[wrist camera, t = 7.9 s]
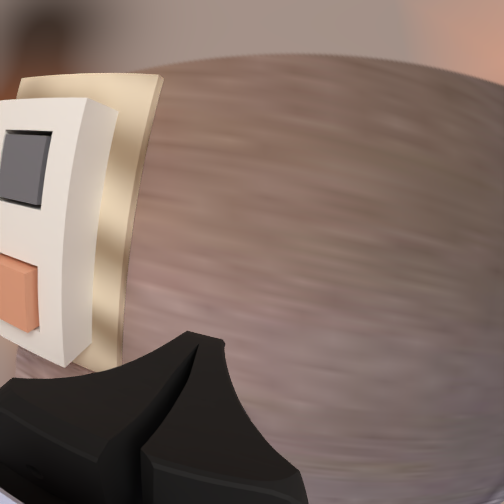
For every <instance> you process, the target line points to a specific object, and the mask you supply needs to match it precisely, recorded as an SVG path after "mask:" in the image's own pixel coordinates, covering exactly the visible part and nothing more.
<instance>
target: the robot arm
mask: <svg viewBox="0 0 504 504" xmlns="http://www.w3.org/2000/svg"><path fill="white" fill-rule="evenodd" d="M224 347H225V342H224V341H223V340H222V339H218V338H214V337H210V336H206V335H202V334H198V333H194V332H190V331H186V332H185V333H183V334H181V335H180V336H178V337H176V338H175V339H173V340H172V341H170V342H168V343H167V344H165V345H163V346H162V347H160V348H158V349H156V350H154V351H153V352H151V353H149V354H147V355H145V356H143V357H141V358H138V359H136V360H134V361H132V362H129V363H127V364H124V365H121V366H118V367H115V368H112V369H109V370H105V371H101V372H96V373H91V374H87V375H82V376H75V377H67V378H55V379H25V378H12V379H10V380H9V381H8V382H7V383H6V384H4V385H3V386H2V387H1V388H0V504H308V498H307V494H306V490H305V486H304V483H303V480H302V477H301V474H300V471H299V470H298V469H296V468H295V467H294V466H293V465H292V464H290V463H289V462H288V461H287V460H286V459H285V458H283V457H282V456H281V455H280V454H279V453H278V452H276V451H275V450H274V449H273V448H272V446H271V445H270V444H269V443H268V442H267V441H266V440H265V439H264V437H263V436H262V435H261V433H260V432H259V431H258V430H257V428H256V427H255V426H254V424H253V423H252V422H251V420H250V418H249V417H248V415H247V414H246V411H245V410H244V408H243V407H242V405H241V403H240V401H239V399H238V397H237V394H236V392H235V390H234V387H233V385H232V382H231V379H230V376H229V372H228V368H227V365H226V360H225V352H224Z"/></svg>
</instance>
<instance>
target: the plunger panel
mask: <svg viewBox="0 0 504 504" xmlns="http://www.w3.org/2000/svg"><path fill="white" fill-rule="evenodd" d="M118 113H119V111H117V110H115V109H112V108H110V107H108V106H106V105H103V104H101V103H99V102H96V101H94V100H92V99H89V98H77V97H68V98H31V99H16V100H2V101H0V166H1V159H2V153H3V147H4V141H5V136H6V134H18V135H39V136H41V135H52V137H51V142H50V148H49V153H48V159H47V165H46V171H45V178H44V186H43V194H42V203H41V204H40V205H34V204H30V203H26V202H21V201H17V200H12V199H8V198H4V197H0V254H1V253H3V254H5V255H8V256H11V257H13V258H16V259H19V260H21V261H24V262H27V263H30V264H32V265H35V266H38V308H39V326H38V327H36V328H35V329H33V330H32V331H30V332H29V333H27V332H25V331H23V330H21V329H19V328H17V327H15V326H13V325H11V324H9V323H7V322H5V321H3V320H1V319H0V335H1V336H3V337H4V338H6V339H8V340H10V341H12V342H13V343H15V344H17V345H19V346H21V347H23V348H25V349H27V350H29V351H31V352H32V353H34V354H36V355H38V356H41V357H43V358H45V359H47V360H49V361H51V362H53V363H55V364H57V365H60V366H62V367H64V368H65V367H66V366H67V365H68V364H70V363H71V362H72V361H73V360H74V359H75V358H76V357H77V356H78V355H79V354H80V353H81V352H82V351H84V350H85V349H86V348H87V347H88V346H89V345H90V344H91V343H92V299H93V278H94V263H95V251H96V240H97V231H98V222H99V214H100V207H101V200H102V193H103V187H104V180H105V175H106V169H107V163H108V158H109V153H110V148H111V143H112V139H113V134H114V130H115V125H116V121H117V117H118Z"/></svg>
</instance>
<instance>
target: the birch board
mask: <svg viewBox="0 0 504 504" xmlns="http://www.w3.org/2000/svg"><path fill="white" fill-rule="evenodd" d="M163 81H164V79H163V78H162V77H161V76H160V75H155V74H132V73H89V74H88V73H87V74H66V75H65V74H64V75H50V76H39V77H30V78H22V80H21V83H20V87H19V90H18V94H17V97H16V99H31V98H68V97H77V98H89V99H92V100H94V101H96V102H99V103H101V104H103V105H106V106H108V107H110V108H112V109H115V110H117V111H119V113H118V117H117V121H116V125H115V130H114V134H113V139H112V143H111V148H110V153H109V158H108V163H107V169H106V175H105V180H104V187H103V193H102V200H101V207H100V214H99V222H98V231H97V240H96V251H95V263H94V278H93V299H92V343H91V344H90V345H89V346H88V347H87V348H86V349H85V350H84V351H82V352H81V353H80V354H79V355H78V356H77V357H76V358H75V359H74V360H73V361H72V363H75V364H77V365H80V366H82V367H84V368H87V369H89V370H92V371H94V372H101V371H105V370H109V369H112V368H115V367H118V366H121V365H122V342H123V322H124V306H125V294H126V282H127V272H128V263H129V254H130V246H131V238H132V231H133V224H134V217H135V210H136V204H137V198H138V192H139V186H140V181H141V175H142V170H143V165H144V160H145V155H146V150H147V146H148V141H149V137H150V132H151V128H152V124H153V119H154V115H155V111H156V107H157V103H158V99H159V96H160V92H161V88H162V85H163ZM41 136H50V137H52V135H41Z"/></svg>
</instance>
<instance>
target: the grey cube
mask: <svg viewBox="0 0 504 504" xmlns="http://www.w3.org/2000/svg"><path fill="white" fill-rule="evenodd" d="M50 142H51V137H50V136H39V135H18V134H6V136H5V141H4V147H3V153H2V159H1V166H0V197H4V198H8V199H12V200H17V201H21V202H26V203H30V204H34V205H40V204H41V203H42V194H43V186H44V178H45V171H46V165H47V159H48V153H49V148H50Z"/></svg>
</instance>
